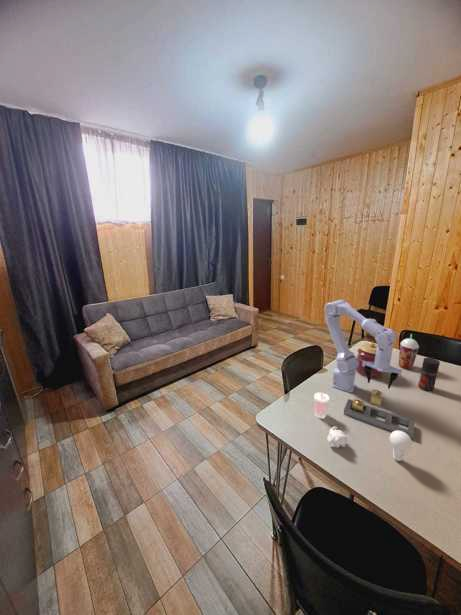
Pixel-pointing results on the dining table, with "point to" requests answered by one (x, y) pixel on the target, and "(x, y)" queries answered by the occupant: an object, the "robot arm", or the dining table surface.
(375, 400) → the knobbed gold cube
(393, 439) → the lightbulb
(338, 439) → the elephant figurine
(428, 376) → the deodorant
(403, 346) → the smoothie
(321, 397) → the beverage cup
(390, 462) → the dining table surface
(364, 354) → the canister
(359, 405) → the gold knobbed block
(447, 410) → the dining table surface
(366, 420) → the rack rail
